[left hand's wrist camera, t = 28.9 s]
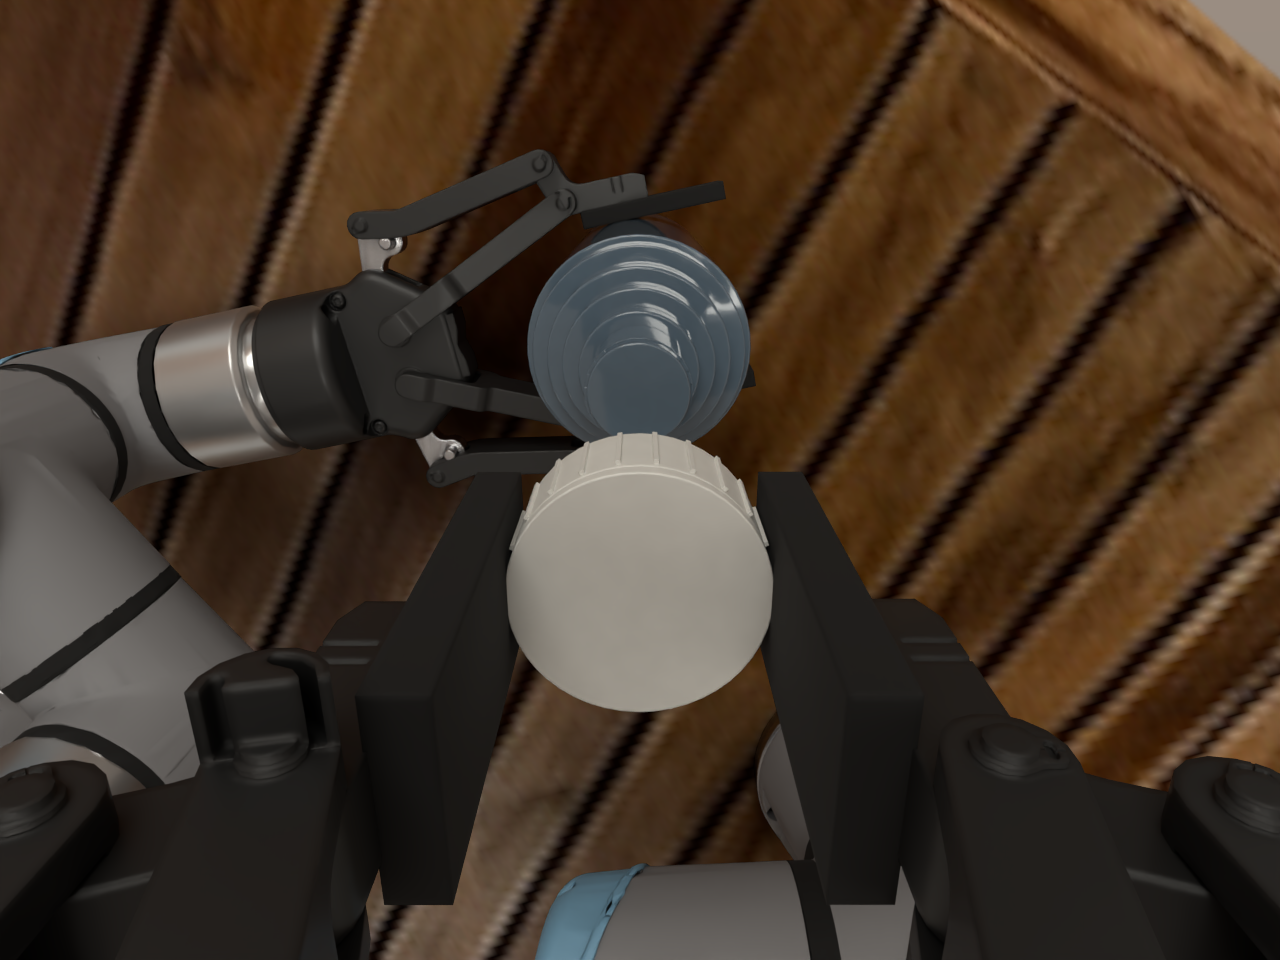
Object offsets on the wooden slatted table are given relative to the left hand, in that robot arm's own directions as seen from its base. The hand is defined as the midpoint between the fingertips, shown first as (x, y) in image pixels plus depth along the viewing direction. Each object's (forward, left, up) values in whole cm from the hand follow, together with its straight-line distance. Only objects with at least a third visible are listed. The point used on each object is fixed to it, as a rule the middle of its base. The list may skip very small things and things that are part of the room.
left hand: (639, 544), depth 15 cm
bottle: (0, 0, -33) cm, 33 cm away
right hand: (+3, -4, -27) cm, 27 cm away
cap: (0, 0, +2) cm, 2 cm away
